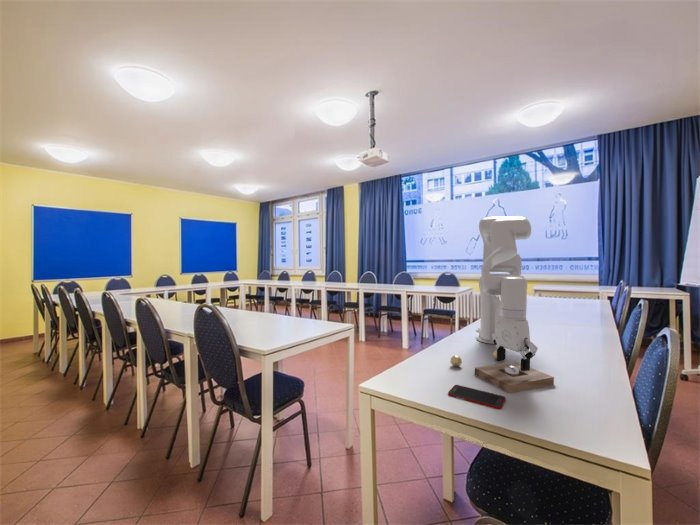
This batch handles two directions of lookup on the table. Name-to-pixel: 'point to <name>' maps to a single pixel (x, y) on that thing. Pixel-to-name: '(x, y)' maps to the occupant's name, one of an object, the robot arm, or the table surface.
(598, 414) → the table surface
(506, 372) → the steel ball
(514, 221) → the robot arm
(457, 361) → the brass ball
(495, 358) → the brass ball
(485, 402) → the cell phone
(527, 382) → the pocket plate
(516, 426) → the table surface
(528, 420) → the table surface
